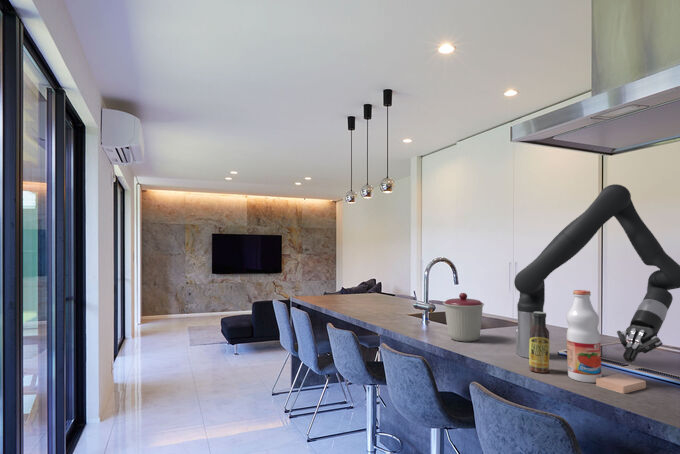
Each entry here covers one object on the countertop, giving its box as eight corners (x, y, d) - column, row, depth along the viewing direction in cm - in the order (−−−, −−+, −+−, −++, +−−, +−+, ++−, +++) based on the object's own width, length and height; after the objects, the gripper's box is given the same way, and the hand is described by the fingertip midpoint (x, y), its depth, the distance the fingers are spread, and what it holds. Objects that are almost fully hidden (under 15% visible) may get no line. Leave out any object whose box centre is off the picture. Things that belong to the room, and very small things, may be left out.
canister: (490, 338, 194) (489, 292, 195) (475, 346, 180) (474, 296, 181) (453, 333, 205) (452, 290, 206) (436, 340, 191) (436, 293, 192)
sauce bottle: (529, 372, 142) (528, 313, 143) (528, 367, 148) (527, 310, 149) (551, 374, 140) (549, 314, 141) (549, 369, 146) (547, 311, 146)
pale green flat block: (618, 381, 134) (596, 386, 129) (618, 373, 134) (596, 378, 129) (646, 389, 126) (623, 395, 122) (645, 381, 126) (623, 386, 122)
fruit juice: (583, 372, 141) (580, 288, 143) (609, 381, 132) (605, 291, 134) (561, 375, 139) (558, 289, 140) (585, 384, 130) (582, 292, 131)
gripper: (622, 306, 140) (600, 347, 134) (667, 311, 128) (645, 357, 123) (632, 321, 142) (611, 362, 137) (678, 328, 131) (656, 373, 125)
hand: (627, 360), depth 130 cm, fingers closed
